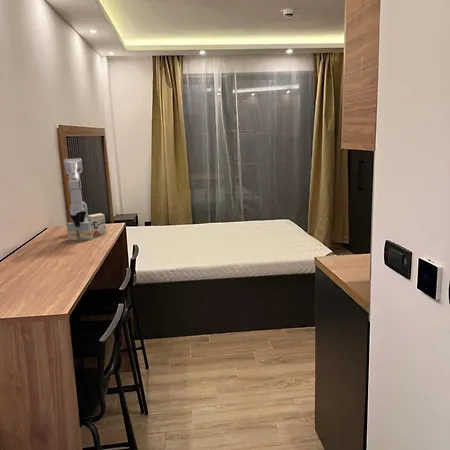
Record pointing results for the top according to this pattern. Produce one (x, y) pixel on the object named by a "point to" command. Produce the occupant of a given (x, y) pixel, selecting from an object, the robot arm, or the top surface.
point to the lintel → (82, 227)
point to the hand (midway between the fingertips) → (79, 225)
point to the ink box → (97, 223)
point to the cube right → (87, 234)
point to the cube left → (73, 235)
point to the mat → (81, 239)
